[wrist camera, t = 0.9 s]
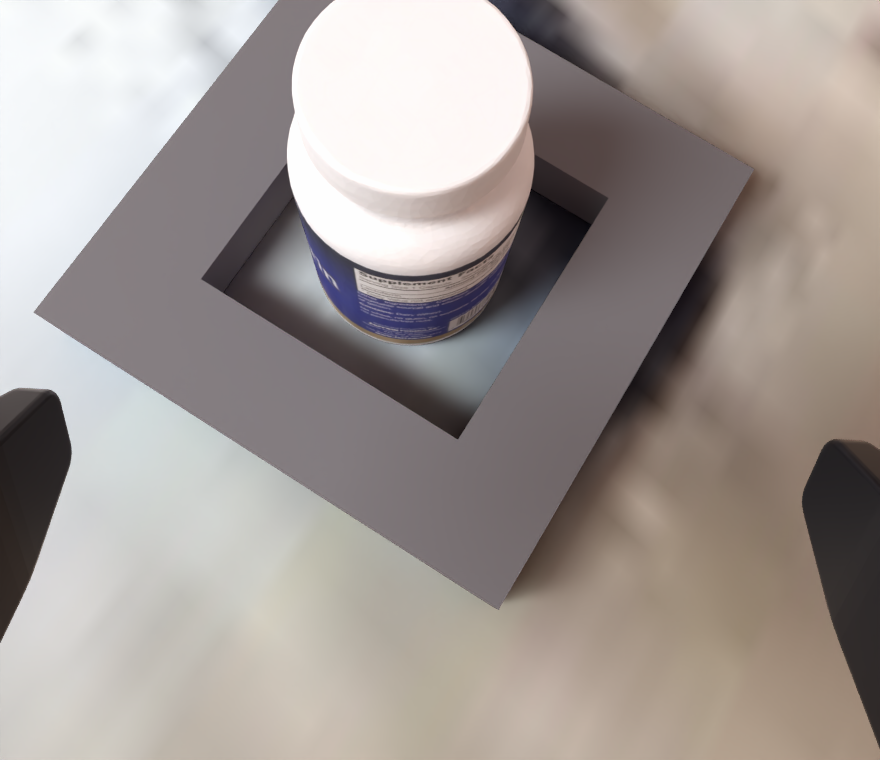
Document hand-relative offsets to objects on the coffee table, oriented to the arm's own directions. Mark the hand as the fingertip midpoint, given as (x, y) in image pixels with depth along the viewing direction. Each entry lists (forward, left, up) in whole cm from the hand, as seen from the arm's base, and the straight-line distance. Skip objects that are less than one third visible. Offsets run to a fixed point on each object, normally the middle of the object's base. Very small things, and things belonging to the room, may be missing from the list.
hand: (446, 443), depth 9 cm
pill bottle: (+6, +4, -14) cm, 16 cm away
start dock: (+6, +4, -14) cm, 16 cm away
